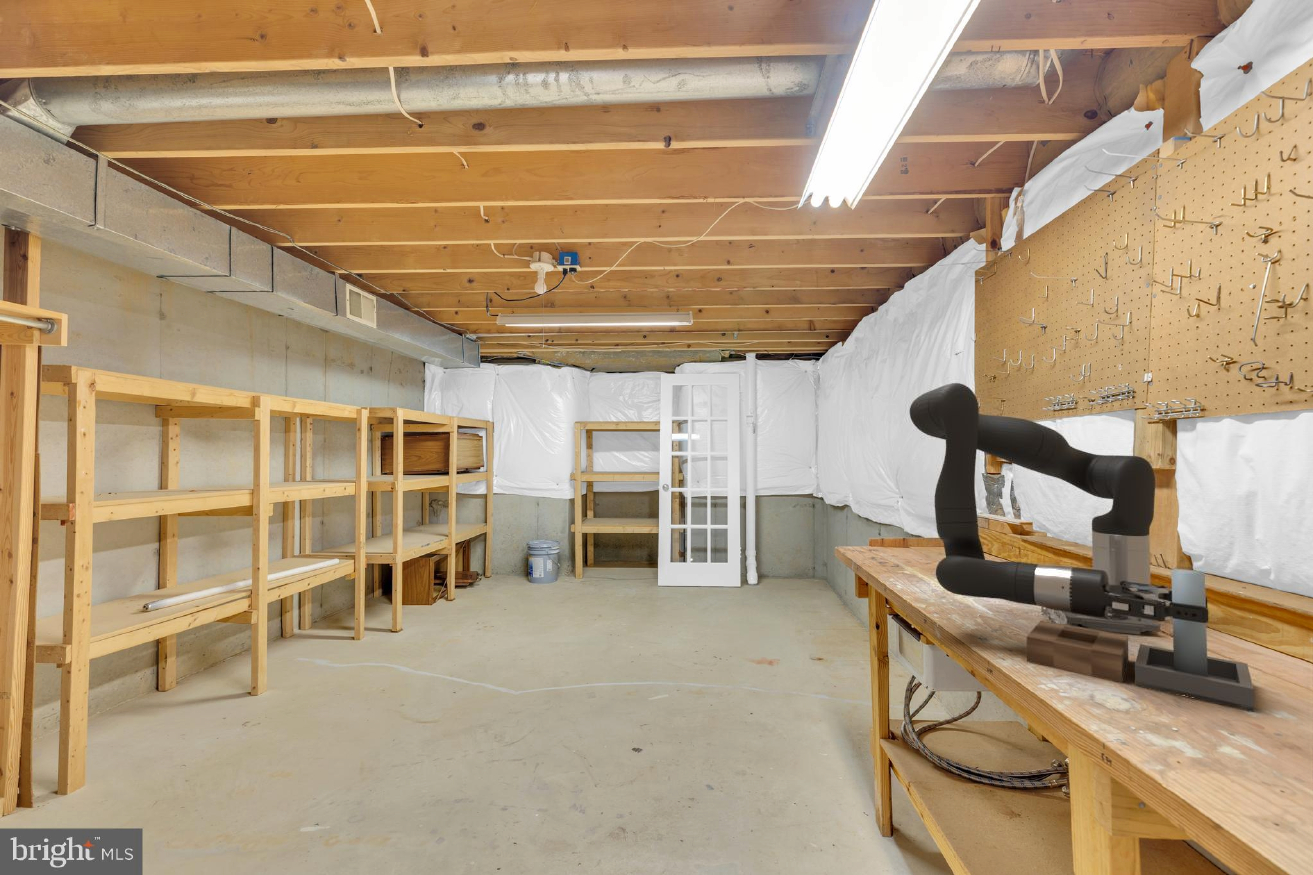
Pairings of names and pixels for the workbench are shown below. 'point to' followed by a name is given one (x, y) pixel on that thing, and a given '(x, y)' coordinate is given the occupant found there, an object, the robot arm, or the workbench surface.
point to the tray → (1196, 678)
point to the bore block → (1079, 650)
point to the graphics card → (1103, 622)
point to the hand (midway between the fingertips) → (1207, 608)
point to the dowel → (1189, 623)
